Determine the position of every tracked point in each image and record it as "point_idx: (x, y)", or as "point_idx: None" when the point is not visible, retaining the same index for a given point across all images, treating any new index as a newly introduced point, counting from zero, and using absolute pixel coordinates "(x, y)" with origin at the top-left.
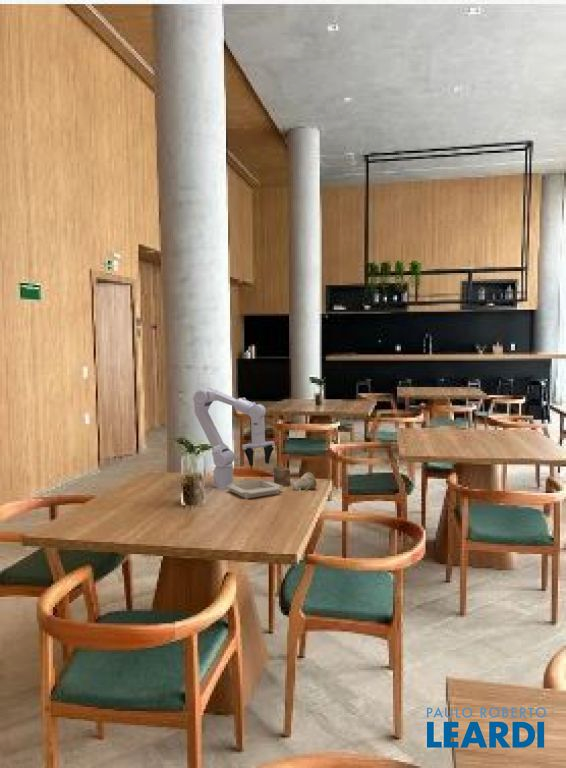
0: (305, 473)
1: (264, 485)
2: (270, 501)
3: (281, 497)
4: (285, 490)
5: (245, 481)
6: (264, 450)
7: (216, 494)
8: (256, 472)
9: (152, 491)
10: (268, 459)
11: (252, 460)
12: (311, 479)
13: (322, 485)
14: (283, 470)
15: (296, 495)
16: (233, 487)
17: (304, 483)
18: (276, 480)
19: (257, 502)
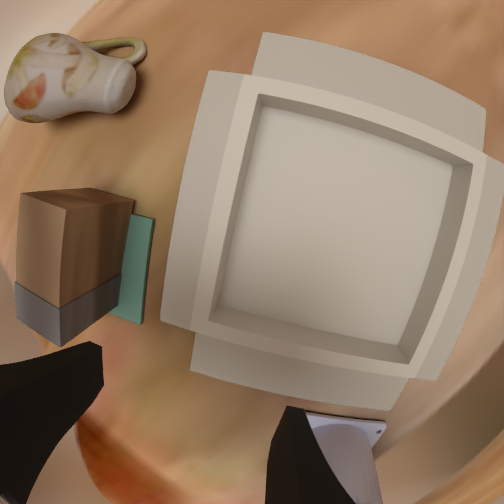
0: (21, 82)
1: (222, 267)
2: (392, 26)
3: (295, 30)
4: (162, 135)
5: (292, 386)
6: (32, 476)
7: (462, 362)
8: (97, 463)
9: (475, 486)
10: (65, 358)
11: (299, 449)
12: (56, 33)
13: None
14: (52, 209)
15: (206, 12)
16: (453, 316)
17: (89, 49)
18: (108, 280)
19: (451, 69)
